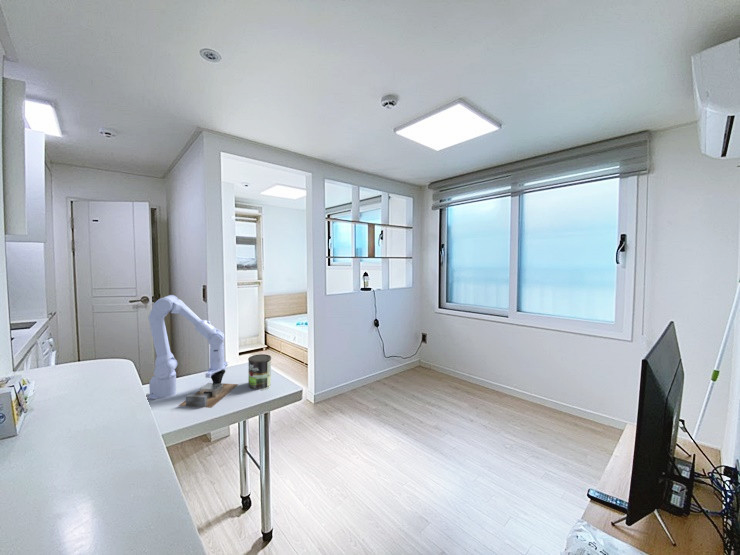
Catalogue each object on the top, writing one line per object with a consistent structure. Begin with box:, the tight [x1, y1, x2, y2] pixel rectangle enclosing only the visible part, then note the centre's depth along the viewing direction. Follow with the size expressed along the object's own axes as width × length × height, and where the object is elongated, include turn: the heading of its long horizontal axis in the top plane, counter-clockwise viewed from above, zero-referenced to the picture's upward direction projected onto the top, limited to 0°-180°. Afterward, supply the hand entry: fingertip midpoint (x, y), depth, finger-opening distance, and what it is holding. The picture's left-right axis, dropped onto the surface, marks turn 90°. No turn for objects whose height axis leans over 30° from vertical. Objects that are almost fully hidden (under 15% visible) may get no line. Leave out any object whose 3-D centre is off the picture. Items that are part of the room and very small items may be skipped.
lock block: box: [199, 382, 223, 397], centre depth 134 cm, size 7×6×3 cm
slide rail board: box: [178, 382, 239, 409], centre depth 133 cm, size 14×22×5 cm, turn 176°
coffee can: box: [247, 353, 272, 391], centre depth 144 cm, size 10×10×14 cm
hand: (217, 386), depth 138 cm, fingers closed
